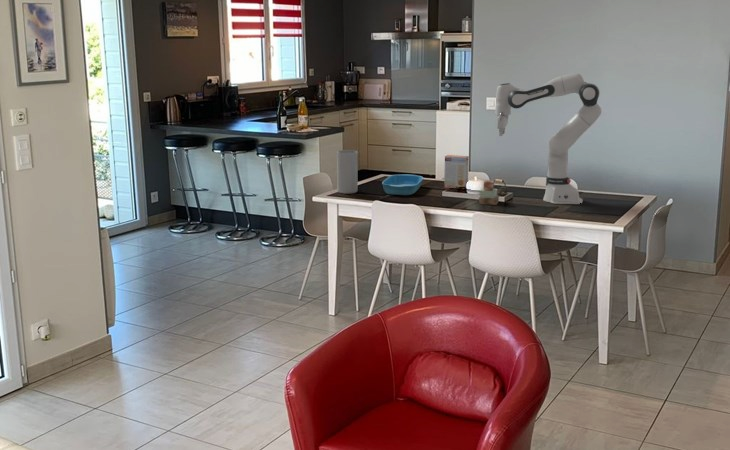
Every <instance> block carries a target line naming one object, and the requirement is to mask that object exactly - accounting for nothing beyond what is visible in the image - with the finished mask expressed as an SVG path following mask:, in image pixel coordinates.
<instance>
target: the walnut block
mask: <svg viewBox="0 0 730 450" xmlns="http://www.w3.org/2000/svg"><path fill="white" fill-rule="evenodd" d="M499 196H500V195H498V194H497V196H496V197H495V198H483V197H480V196H479V197H478V204H479V205H489V206H490V205H491V206H497V205H498V204H499V200H500V199H499V198H500V197H499Z"/></svg>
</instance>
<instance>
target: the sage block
mask: <svg viewBox="0 0 730 450" xmlns="http://www.w3.org/2000/svg"><path fill="white" fill-rule="evenodd" d="M497 195H498V188H494V189H493V191H484V187H483V188H482V189H481V190H480V191H479V197H483V198H495V197H496V196H497Z"/></svg>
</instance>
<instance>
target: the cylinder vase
mask: <svg viewBox="0 0 730 450" xmlns="http://www.w3.org/2000/svg"><path fill="white" fill-rule="evenodd" d="M358 154H359V153H358V151H357V150H353V149H344V150H343V149H340V150H338V151H336V176H337V177H336V178H337V179H336V180H337V181H336V184H337V185H336V190H337V193H340V194H345V195H346V194H348V195H349V194H355V193H357V192H358V187H359V186H358V183H359V182H358V170H359V168H358Z"/></svg>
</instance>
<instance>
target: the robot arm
mask: <svg viewBox="0 0 730 450" xmlns="http://www.w3.org/2000/svg"><path fill="white" fill-rule="evenodd" d="M570 94H578V95H579V99H580V100H581V101H582V107H581V108H580V109H579V110H578V111H577V112H576V113H575V114H574V115H572V117H571V118H570V119H569V120H568V121H566V123H565V124H564V125H563V127H561V129H560V130H558V132H555V133H553V134H552V135H551V136H550V138H549V140H548V156H547V159H548V160H547V174H546V178H545V186H546V187H545V191H544V192H545V193H544V195H543V198H542V200H543V202H547V203H551V204H557V205H558V204H559V205H581V204H583V200H584V199H582V198H581V197H580V193H579V191H578V189H577V188H576V187H574V186H573V185H572V184H571V178H570V177H568V165H569V164H568V159H569V150H570V149H571V147H572V146H574V144H575V143H576V142H577V141H578V140H579V139H580V138H581V136H582V135H583V134H585V133H586V132H587V131H588V129H590V128H591V126H593V125H594V123H595V122H596V121H597V120H598V119H599V117H601V115H602V109H601V108H602V107H600V105H599V104H598V100H599V97H600V89H599V87H598V86H597V84H595V83H592V82H586V81H584V78H583V76H582V75H581V74H580V73H576V72H575V73H568V74H564V75H560V76H557V77H554V78H552V79H550V80H549V81H547V82H546V83H545V84H543V85H541V86H538V87H536V88H532V89H529V90H524V89H520V88H517V87H515V86H514V85H513V84H511V83H509V82H508V83H507V82H506V83H501V84H499V85H498V86H497V87H496V91H495V101H496V102H495V112H494V113H495V115H497V116H496V117H497V123H496V124H497V130H498V132H499V133H498V134H499V135H498V136H499V137H503V136H504V134H505V133H506V132H505V131H506V127H507V125H508V122H509V115H511V108H512V109H520V108H522V107H524V106H525V105H526V104H528V103H530V102H533V101H536V100H540V99H544V98H545V99H546V98H554V97H556V98H558V97H563V96H567V95H570ZM580 203H581V204H580Z"/></svg>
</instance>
